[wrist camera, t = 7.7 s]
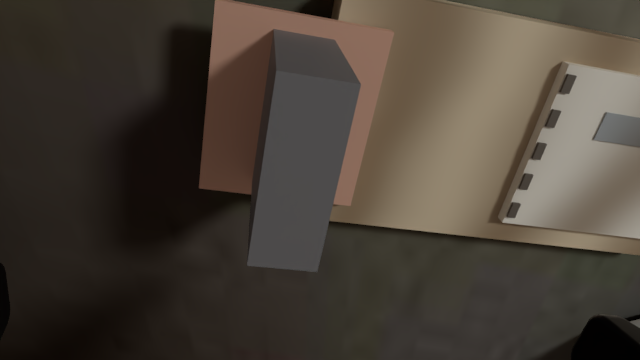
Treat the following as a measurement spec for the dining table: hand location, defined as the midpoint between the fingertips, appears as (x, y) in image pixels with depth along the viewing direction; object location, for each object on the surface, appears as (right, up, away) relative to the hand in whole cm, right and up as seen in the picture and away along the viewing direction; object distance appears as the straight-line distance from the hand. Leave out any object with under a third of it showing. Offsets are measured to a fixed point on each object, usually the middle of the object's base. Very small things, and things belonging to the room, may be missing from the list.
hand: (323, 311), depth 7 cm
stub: (-1, +4, +8) cm, 9 cm away
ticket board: (+8, +4, +11) cm, 14 cm away
